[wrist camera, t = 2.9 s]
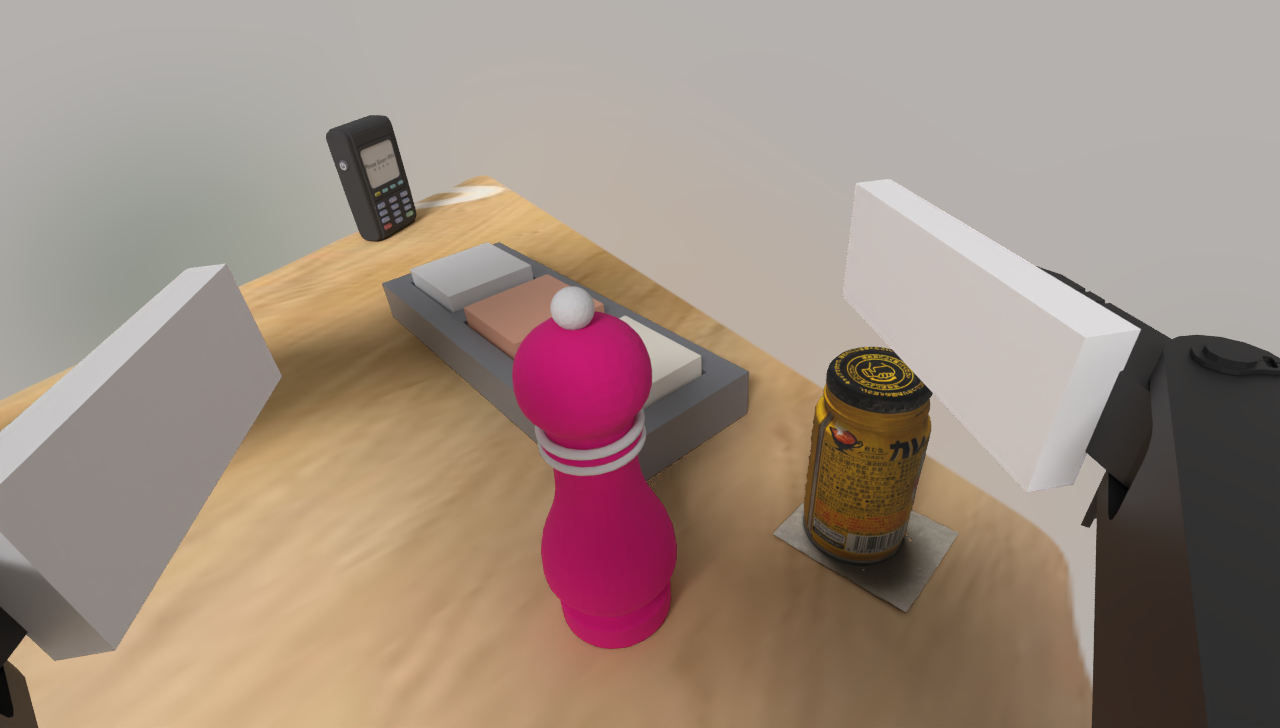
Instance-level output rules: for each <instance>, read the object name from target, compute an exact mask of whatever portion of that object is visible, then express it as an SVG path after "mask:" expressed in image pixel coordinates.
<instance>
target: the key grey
mask: <svg viewBox="0 0 1280 728" xmlns="http://www.w3.org/2000/svg"><path fill="white" fill-rule="evenodd" d="M410 271H411V274H412V277H413V280H414V284H415V287H417V288H418V289H419V290H421V291H422V292H423V293H425V294H426V295H427V296H429V297H430V298H431V299H433V300H434V301H435V302H437V303H438V304H439V305H441V306H442V307H443V308H445V309H446V310H447V311H449V312H450V313H453V312H456V311H458V310H461V309H463V307H466V306H468V305H471V304H473V303H476V302H478V301H481V300H483V299H486V298H488V297H491V296H493V295H496V294H498V293H501V292H503V291H506V290H509V289H511V288H514V287H516V286H519V285H521V284H524V283H526V282H529V281H531V280H534V279H533V273H532V268H531V265H529V264H528V263H526V262H524V261H522V260H520V259H518V258H516V257H514V256H513V255H511V254H509V253H507V252H505V251H503V250H501V249H499V248H498V247H496V246H494V245H492V244H490V243H488V242H487V243H484V244H481V245H479V246H476V247H473V248H470V249H467V250H464V251H461V252H458V253H456V254H453V255H450V256H447V257H444V258H441V259H438V260H435V261H433V262H430V263H427V264H424V265H421V266H418V267H415V268H412V269H410Z"/></svg>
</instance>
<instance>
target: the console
mask: <svg viewBox="0 0 1280 728" xmlns="http://www.w3.org/2000/svg"><path fill="white" fill-rule="evenodd" d="M493 245H494V246H496V247H498V248H499V249H501V250H503V251H505V252H507V253H509V254H511V255H513V256H514V257H516V258H518V259H520V260H522V261H524V262H526V263H528V264H529V265H531V268H532V273H533V279H536V278H539V277H541V276H544V275H546V274H548V275H550V276H552V277H554V278H556V279H558V280H560V281H561V282H563V283H565V284H567V285H569V286H571V287H572V286H576V287H580V288H582V289H584V290H585V291H587V292H588V293H589V294H590V296H591V297H592V298H593V299H595V300H597V301H599V302H601V303H603V304H604V312H605V313H606V314H609V315H612V316H615V317H617V318H621V317H623V316H627V317H629V318H631V319H633V320H635V321H637V322H639V323H640V324H642V325H644V326H646V327H648V328H650V329H652V330H654V331H656V332H657V333H659V334H661V335H663V336H665V337H667V338H669V339H671V340H672V341H674V342H676V343H678V344H680V345H682V346H684V347H686V348H688V349H689V350H691V351H693V352H695V353H697V354H699V355H701V371H702V375H701V376H700V377H698V378H696V379H695V380H693V381H691V382H690V383H688V384H686V385H685V386H683V387H681V388H679V389H678V390H676V391H674V392H673V393H671V394H669V395H668V396H666V397H664V398H662V399H661V400H659V401H657V402H656V403H654V404H652V405H651V406H649V407H647V408H646V409H644V415H645V422H644V425H645V428H646V439H645V442H644V445H643V447H642V449H641V451H640V452H639V453H638V459H639V463H640V468H641V472H642V474H643V476H644V478H645V480H646V481H647V480H648V479H650V478H651V477H653V476H654V475H656V474H657V473H659V472H660V471H662V470H663V469H665V468H666V467H668V466H669V465H671V464H672V463H674V462H675V461H677V460H678V459H680V458H681V457H683V456H684V455H686V454H687V453H688V452H690V451H691V450H693V449H694V448H696V447H697V446H699V445H700V444H702V443H703V442H705V441H706V440H708V439H709V438H711V437H712V436H714V435H715V434H717V433H718V432H720V431H721V430H723V429H724V428H726V427H727V426H729V425H730V424H732V423H733V422H735V421H736V420H738V419H739V418H741V417H742V416H744V415H745V414H747V408H748V377H749V372H748V371H747V370H745V369H743V368H741V367H739V366H737V365H735V364H733V363H731V362H729V361H727V360H725V359H723V358H721V357H720V356H718V355H716V354H714V353H712V352H710V351H708V350H706V349H704V348H702V347H700V346H698V345H696V344H694V343H693V342H691V341H689V340H687V339H685V338H683V337H681V336H679V335H677V334H675V333H673V332H671V331H669V330H667V329H666V328H664V327H662V326H660V325H658V324H656V323H654V322H652V321H650V320H648V319H646V318H644V317H642V316H640V315H638V314H637V313H635V312H633V311H631V310H629V309H627V308H625V307H623V306H621V305H619V304H617V303H615V302H613V301H611V300H610V299H608V298H606V297H604V296H602V295H600V294H598V293H596V292H594V291H592V290H590V289H588V288H586V287H584V286H583V285H581V284H579V283H577V282H575V281H573V280H571V279H569V278H567V277H565V276H563V275H561V274H559V273H557V272H556V271H554V270H552V269H550V268H548V267H546V266H544V265H542V264H540V263H538V262H536V261H534V260H532V259H530V258H529V257H527V256H525V255H523V254H521V253H519V252H517V251H515V250H513V249H511V248H509V247H507V246H505V245H503V244H502V243H500V242H499V243H496V244H493ZM382 285H383V288H384V291H385V294H386V297H387V300H388V303H389V306H390V309H391V311H392V314H393V317H394V318H395V319H396V320H398V321H399V322H400V323H401V324H402V325H403V326H404V327H405V328H407V329H408V330H409V331H410V332H411V333H412V334H413V335H415V336H416V337H417V338H418V339H419V340H420V341H421V342H422V343H424V344H425V345H426V346H427V347H428V348H429V349H430V350H432V351H433V352H434V353H435V354H436V355H437V356H438V357H439V358H441V359H442V360H443V361H444V362H445V363H446V364H447V365H449V366H450V367H451V368H452V369H453V370H454V371H455V372H456V373H458V374H459V375H460V376H461V377H462V378H463V379H464V380H465V381H467V382H468V383H469V384H470V385H471V386H472V387H473V388H475V389H476V390H477V391H478V392H479V393H480V394H481V395H482V396H484V397H485V398H486V399H487V400H488V401H489V402H490V403H492V404H493V405H494V406H495V407H496V408H497V409H498V410H499V411H501V412H502V413H503V414H504V415H505V416H506V417H507V418H509V419H510V420H511V421H512V422H513V423H514V424H515V425H516V426H518V427H519V428H520V429H521V430H522V431H523V432H524V433H525V434H527V435H528V436H529V437H530V438H531V439H532V440H533V441H535V442H536V443H537V444H538V440H537V438H536V434H535V425H534V424H533V423H532V422H531V421H530V420H529V419H528V418H527V417H526V416H525V415H524V414H523V412H522V411H521V409H520V407H519V405H518V403H517V400H516V396H515V393H514V390H513V380H512V370H513V363H514V360H513V359H511V358H510V357H509V356H507V355H506V354H505V353H503V352H502V351H501V350H499V349H498V348H497V347H495V346H494V345H493V344H491V343H490V342H489V341H487V340H486V339H485V338H483V337H482V336H481V335H479V334H478V333H477V332H475V331H474V330H473V329H471V328H470V327H469V326H468V323H467V319H466V315H465V311H464V308H463V309H461V310H458V311H456V312H453V313H450V312H449V311H447V310H446V309H445V308H443V307H442V306H441V305H439V304H438V303H437V302H435V301H434V300H433V299H431V298H430V297H429V296H427V295H426V294H425V293H423V292H422V291H421V290H419V289H418V288H417V287H415V284H414V280H413V277H412V274H411V273H410V274H407V275H405V276H402V277H399V278H396V279H393V280H390V281H388V282H385V283H382Z"/></svg>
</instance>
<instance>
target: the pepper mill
mask: <svg viewBox="0 0 1280 728" xmlns="http://www.w3.org/2000/svg"><path fill="white" fill-rule="evenodd" d="M550 310H551V314H552V317H551V318H549V319H547V320H546V321H544V322H543V323H541V324H539V325H538V326H536V327H535V328H534V329H533V330H532V331H531V332H530V333H529V334H528V335H527V336H526V337H525V338H524V339H523V341H522V342H521V344H520V346H519V348H518V350H517V352H516V354H515V358H514V363H513V370H512V380H513V390H514V393H515V396H516V400H517V403H518V405H519V407H520V409H521V411H522V412H523V414H524V415H525V416H526V417H527V418H528V419H529V420H530V421H531V422H532V423H533V424H534V425H535V434H536V438H537V440H538V448H539V452H540V455H541V456H542V458H543V459H544V461H545V462H547V463H548V464H549V465H550V466H551V467H553V469H554V476H555V496H554V501H553V504H552V507H551V509H550V512H549V514H548V517H547V519H546V522H545V526H544V529H543V536H542V545H541V555H542V562H543V569H544V574H545V577H546V579H547V582H548V584H549V586H550V588H551V590H552V591H553V592H554V593H555V594H556V596H557V597H558V598H559V599H560V600H561V605H562V609H563V613H564V617H565V619H566V622H567V624H568V626H569V627H570V629H571V630H572V631H573V632H574V633H575V634H576V636H578V637H579V638H581V639H582V640H583V641H585V642H587V643H589V644H592V645H594V646H597V647H601V648H608V649H615V648H624V647H630V646H632V645H634V644H637V643H639V642H641V641H644V640H645V639H647V638H648V637H649V636H651V635H652V634H653V633H654V632H656V630H657V629H658V628H659V627H660V626H661V624H662V623H663V622H664V620H665V618H666V616H667V614H668V611H669V608H670V603H671V587H670V578H671V576H672V573H673V571H674V568H675V564H676V558H677V544H676V539H675V534H674V529H673V525H672V522H671V520H670V518H669V516H668V513H667V511H666V509H665V507H664V505H663V504H662V502H661V501H660V500H659V499H658V497H657V496H656V495H655V493H654V492H653V491H652V489H651V488H650V487H649V485H648V484H647V482H646V480H645V478H644V476H643V474H642V472H641V468H640V463H639V459H638V453H639V452H640V451H641V449H642V447H643V445H644V442H645V439H646V428H645V425H644V422H645V415H644V410H643V408H642V407H643V406H644V404H645V402H646V401H647V399H648V397H649V394H650V390H651V386H652V366H651V360H650V357H649V354H648V351H647V348H646V346H645V344H644V342H643V340H642V339H641V337H640V336H639V334H638V333H637V332H636V331H635V330H634V329H633V328H632V327H630V326H629V325H628V324H627V323H626V322H624V321H623V320H621V319H619V318H617V317H615V316H612V315H609V314H606V313H603V312H597V311H595V307H594V301H593V299H592V297H591V296H590V294H589V293H588V292H587V291H585V290H584V289H582V288H580V287H576V286H572V287H565V288H563V289H561V290H560V291H558V292H557V293H556V294H555V296H554V297H553V299H552V301H551V307H550Z"/></svg>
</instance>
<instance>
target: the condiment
mask: <svg viewBox="0 0 1280 728" xmlns="http://www.w3.org/2000/svg"><path fill="white" fill-rule="evenodd" d="M932 394H933V392H932V391H931V390H930V389H929V388H928V387H927V386H926V385H925V384H924V383H923V382H922V381H921V380H920V379H919V378H918V376H917V375H916V374H915V373H914V372H913V371H912V370H911V369H910V368H909V367H908V366H907V365H906V364H905V363H904V362H903V360H902V359H901V358H900V357H899V356H898V355H897V354H896V353H895V352H894V351H893V350H892V349H887V348H881V347H862V348H855V349H851V350H848V351H846V352H843V353H842V354H840V355H839V356H838V357H836V358H835V359H834V360H833V361H832V362H831V363H830V365H829V368H828V370H827V378H826V385H825V387H824V393H823V396H822V397H821V398H820V400H819V402H818V403H817V405H816V407H815V416H814V420H813V424H814V425H813V429H812V436H811V442H812V445H811V454H810V456H809V466H808V473H807V483H806V495H805V498H804V502H803V503H802V504H801V505H800V506H799V507H798V508H797V509H796V511H795V512H794V513H793V514H792V515H790V516H789V517H788V519H786V520H785V521H784V522H783V523H782V524H781V526H780V527H779V528H778V529H777V530H776V531H775V532H774V533H773V534H774V535H775V536H777V537H779V538H780V539H782V540H783V541H785V542H787V543H788V544H790V545H791V546H793V547H794V548H796V549H798V550H799V551H801V552H804V553H805V554H806V555H808V556H809V557H811V558H812V559H814V560H816V561H817V562H819V563H822V564H823V565H824V566H826V567H828V568H830V569H832V570H834V571H835V572H837V573H838V574H841V575H843V576H845V577H847V578H849V579H850V580H852V581H853V582H854V583H856V584H858V585H859V586H861V587H863V588H864V589H866V590H867V591H869V592H870V593H872V594H874V595H876V596H878V597H880V598H882V599H884V600H886V601H888V602H890V603H891V604H893V605H894V606H896V607H898V608H899V609H901V610H903V611H904V612H907V611H908V610H909V608H910V607H911V605H912V603H913V602H914V601H915V600H916V598H917V596H918V595H919V593H920V592H921V590H922V589H923V587H924V586H925V585H926V583H927V582H928V580H929V578H930V577H931V575H932V574H933V572H934V571H935V569H936V568H937V566H938V565H939V563H940V562H941V560H942V558H943V557H944V555H945V554H946V552H947V551H948V549H949V548H950V546H951V545H952V543H953V541H954V540H955V538H956V537H957V535H958V534H959V533H957V532H955V531H953V530H951V529H949V528H948V527H946V526H944V525H942V524H939V523H936V522H934V521H932V520H931V519H929V518H928V517H926V516H924V515H921V514H918V513H916V512H914V511H913V510H912V505H913V503H914V498H915V493H916V489H917V484H918V481H919V477H920V473H921V469H922V465H923V462H924V459H925V454H926V450H927V445H928V441H929V437H930V432H931V421H930V417H929V415H928V413H929V410H930V399H929V398H930V397H931V396H932ZM906 533H908V536H906V535H905V534H906ZM908 537H909V538H911V539H912V542H910V541H909V539H908ZM862 569H864V571H862Z"/></svg>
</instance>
